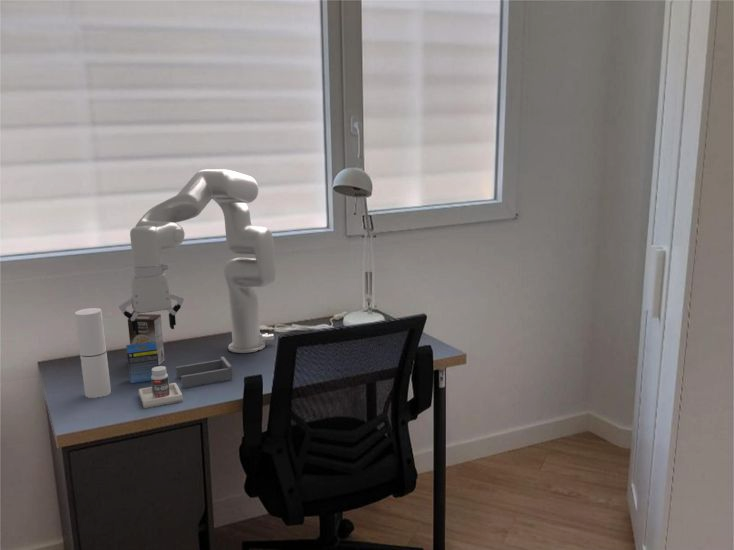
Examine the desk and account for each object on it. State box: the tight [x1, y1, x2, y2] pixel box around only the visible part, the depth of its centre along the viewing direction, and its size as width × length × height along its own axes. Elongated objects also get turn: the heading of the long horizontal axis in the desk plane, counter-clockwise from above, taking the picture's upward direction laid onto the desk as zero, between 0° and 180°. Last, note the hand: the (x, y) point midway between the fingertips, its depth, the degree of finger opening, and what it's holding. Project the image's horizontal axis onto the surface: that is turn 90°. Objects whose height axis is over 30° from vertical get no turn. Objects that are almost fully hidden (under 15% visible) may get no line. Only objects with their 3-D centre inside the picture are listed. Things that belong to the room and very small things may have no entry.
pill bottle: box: [150, 365, 170, 399], centre depth 203 cm, size 5×5×8 cm
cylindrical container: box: [74, 307, 112, 399], centre depth 206 cm, size 7×7×25 cm
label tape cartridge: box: [125, 342, 160, 384], centre depth 218 cm, size 9×4×12 cm, turn 108°
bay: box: [175, 356, 233, 389], centre depth 218 cm, size 15×10×4 cm, turn 114°
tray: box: [138, 382, 184, 409], centre depth 204 cm, size 11×11×2 cm
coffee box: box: [127, 313, 166, 366], centre depth 232 cm, size 9×6×16 cm
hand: (154, 330), depth 200 cm, fingers open, 9 cm apart
